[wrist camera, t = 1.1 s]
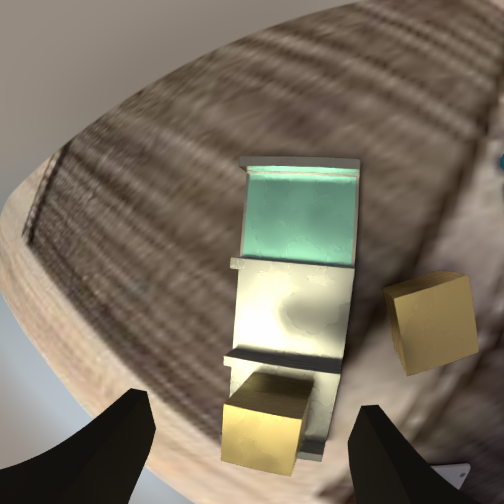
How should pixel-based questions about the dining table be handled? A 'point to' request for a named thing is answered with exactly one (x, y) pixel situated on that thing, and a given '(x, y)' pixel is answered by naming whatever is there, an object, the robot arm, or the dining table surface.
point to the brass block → (266, 423)
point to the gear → (502, 163)
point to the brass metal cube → (432, 320)
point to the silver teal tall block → (296, 278)
